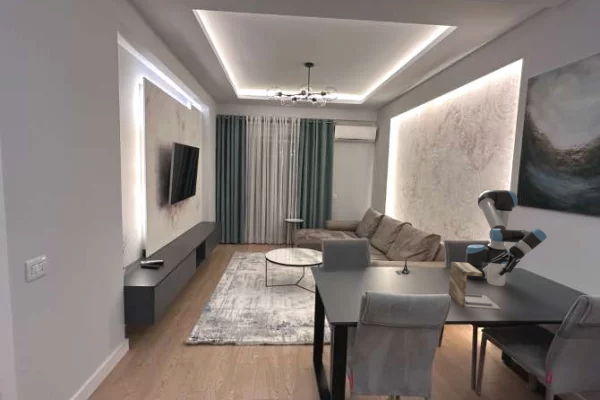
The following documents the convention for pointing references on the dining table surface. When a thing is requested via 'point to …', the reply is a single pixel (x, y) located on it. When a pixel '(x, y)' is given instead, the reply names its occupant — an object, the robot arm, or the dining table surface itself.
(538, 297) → the dining table surface
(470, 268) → the overhang shelf
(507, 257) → the robot arm
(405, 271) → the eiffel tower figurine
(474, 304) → the seat plate
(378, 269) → the dining table surface
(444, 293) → the dining table surface
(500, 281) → the mug
